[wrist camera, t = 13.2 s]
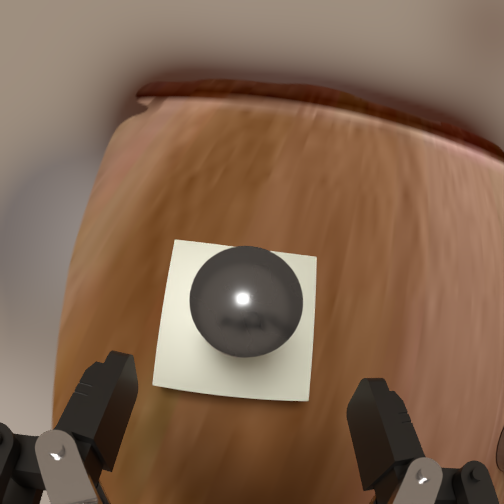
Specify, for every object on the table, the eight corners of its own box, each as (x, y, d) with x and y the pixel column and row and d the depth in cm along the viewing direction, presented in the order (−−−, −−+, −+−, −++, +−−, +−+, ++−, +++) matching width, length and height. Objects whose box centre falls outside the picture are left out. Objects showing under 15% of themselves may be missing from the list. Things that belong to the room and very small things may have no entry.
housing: (278, 290, 22) (306, 253, 15) (271, 361, 20) (298, 362, 13) (207, 281, 22) (199, 239, 15) (197, 352, 20) (181, 348, 13)
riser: (306, 268, 26) (316, 256, 24) (298, 397, 22) (308, 401, 20) (179, 253, 26) (175, 239, 23) (160, 382, 22) (152, 384, 19)
